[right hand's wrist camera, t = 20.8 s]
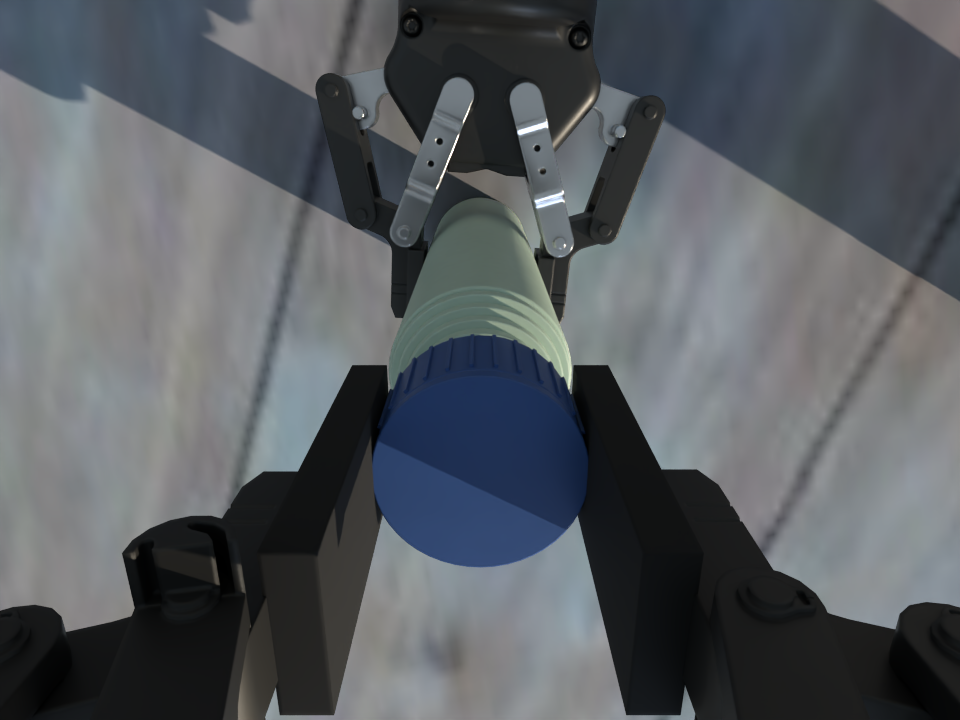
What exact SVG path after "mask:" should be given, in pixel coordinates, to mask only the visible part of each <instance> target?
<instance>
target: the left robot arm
mask: <svg viewBox="0 0 960 720" xmlns="http://www.w3.org/2000/svg"><path fill="white" fill-rule="evenodd" d="M596 6H597V0H399V7H398V31H397V36H396V40H395V43H394V46H393V48H392V50H391V52H390V54H389V55H388V57H387V59H386V62H385V65H384V68H379V69H374V70H369V71H364V72H359V73H354V74H349V75H340V74H335V73H334V74H333V73H327V74H324V75H322V76H321V77H320V78H319V79H318V81H317V83H316V95H317V99H318V103H319V107H320V111H321V115H322V119H323V123H324V127H325V132H326V136H327V140H328V144H329V148H330V152H331V156H332V160H333V164H334V168H335V172H336V176H337V180H338V184H339V188H340V192H341V196H342V200H343V204H344V208H345V212H346V216H347V219H348V221H349V223H350V224H351V225H352V226H353V227H355V228H357V229H368V230H370V231H372V232H374V233H377V234H379V235H381V236H383V237H384V238H385V239H387V241H388V242H389V244H390V245H391V248H392V285H391V307H392V310H393V313H394V315H395V318H403V317H404V315H405V312H406V309H407V307H408V304H409V301H410V299H411V296H412V293H413V291H414V288H415V285H416V283H417V280H418V278H419V275H420V272H421V270H422V267H423V264H424V262H425V259H426V256H427V254H428V241H423V239H424V224H425V222H426V220H427V217H428V215H429V212H430V210H431V207H432V205H433V202H434V200H435V197H436V195H437V192H438V190H439V188H440V185H441V183H442V180H443V178H444V175H445V173H446V170H447V169H448V172H461V173H469V172H474V171H478V170H483V169H489V170H492V171H494V172H497V173H500V174H503V175H506V176H519V177H525V180H526V184H527V188H528V192H529V195H530V198H531V202H532V206H533V210H534V214H535V218H536V222H537V226H538V229H539V233H540V237H541V240H540V248H535V251H534V259H535V261H536V264H537V267H538V269H539V272H540V274H541V277H542V280H543V282H544V285H545V287H546V290H547V293H548V295H549V298H550V301H551V303H552V306H553V308H554V311H555V314H556V316H557V319H558V322H559V324H560V323H561V321H562V319H563V317H564V310H565V301H566V292H567V284H568V275H569V266H570V261H571V259H572V257H573V255H574V254H575V253H576V252H577V251H579V250H580V249H583V248H586V247H589V246H593V245H596V244H601V245H605V244H609V243H611V242H613V241H614V240H615V239H616V238H617V236H618V234H619V231H620V228H621V226H622V223H623V221H624V218H625V216H626V213H627V211H628V208H629V206H630V203H631V200H632V198H633V195H634V193H635V190H636V188H637V185H638V183H639V180H640V178H641V175H642V173H643V170H644V167H645V165H646V162H647V160H648V157H649V155H650V152H651V150H652V147H653V145H654V142H655V140H656V137H657V134H658V132H659V129H660V127H661V124H662V122H663V119H664V116H665V105H664V103H663V101H662V100H661V99H660V98H658V97H656V96H642V97H638V96H635V95H632V94H629V93H627V92H624V91H621V90H618V89H615V88H613V87H610V86H607V85H604V84H601V79H600V74H599V72H598V69H597V67H596V64H595V60H594V56H593V47H592V43H593V32H594V23H595V14H596ZM387 94H390V95H391V96H392V98H393V100H394V101H395V103H396V104H397V106H398V108H399V109H400V111H401V112H402V114H403V116H404V117H405V119H406V120H407V122H408V124H409V125H410V127H411V128H412V130H413V132H414V133H415V135H416V136H417V138H418V140H419V141H420V143H421V144H422V145H421V147H420V150H419V152H418V155H417V158H416V160H415V163H414V165H413V168H412V171H411V173H410V176H409V178H408V181H407V184H406V188H405V191H404V194H403V196H402V199H401V201H400V204H399V206H398V205H396V204H393V203H391V202H389V201H387V200H384V199H382V195H381V191H380V187H379V182H378V178H377V173H376V169H375V164H374V160H373V156H372V151H371V147H370V142H369V138H368V134H367V129H368V128H371V127H373V126H374V125H375V124H376V123H377V122H378V119H379V105H380V102H381V100H382V98H383V97H384V96H386V95H387ZM591 109H594V110H595V111H596V112H597V114H598V116H599V120H600V125H599V129H598V134H599V138H600V140H601V141H602V142H603V143H604V144H606V145H608V149H607V152H606V154H605V157H604V160H603V162H602V165H601V168H600V171H599V173H598V176H597V179H596V181H595V184H594V187H593V189H592V192H591V195H590V198H589V200H588V203H587V206H586V208H585V211H584V213H580V214H577V215H573V216H570V217H568V213H567V209H566V204H565V200H564V191H563V187H562V182H561V178H560V174H559V170H558V165H557V161H556V157H555V152H556V151H557V149H558V148H559V147H560V146H561V145H562V143H563V142H564V141H565V140H566V139H567V137H568V136H569V135H570V134H571V133H572V131H573V130H574V129H575V128H576V127H577V125H578V124H579V123H580V122H581V121H582V119H583V118H584V117H585V116H586V115H587V113H588V112H589V111H590V110H591Z"/></svg>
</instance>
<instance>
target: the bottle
mask: <svg viewBox="0 0 960 720" xmlns="http://www.w3.org/2000/svg"><path fill="white" fill-rule="evenodd" d="M470 334H474V335H486V336H492V335H496V337H502V338H506V339H509V340H514V339H515V340H517V341H518V343H520V344H523V345H525V346H527V347H529V348H531V349H532V350H533V348H534V349H536V350H537V353H539V354H540V355H541V356H542V357H543V358H545V359H546V360H547V361H548V362H550V361H551V362H552V363H553V366H554V368H555V369H556V371H557V372H558V373H559V375H560V376H561V377H563V376H564V378H565V380H566V383H567V386H568V389H569V388H570V382H571V371H572V367H571V357H570V353H569V349H568V345H567V342H566V340H565V337H564V335H563V332H562V329H561V327H560V324H559V322H558V319H557V316H556V314H555V311H554V308H553V306H552V303H551V301H550V298H549V295H548V293H547V290H546V287H545V285H544V282H543V280H542V277H541V274H540V272H539V269H538V267H537V264H536V261H535V259H534V256H533V253H532V251H531V248H530V246H529V243H528V240H527V238H526V235H525V233H524V230H523V227H522V225H521V223H520V221H519V219H518V218H517V216H516V215H515V214H514V213H513V211H512V210H511V209H509V208H508V207H507V206H506V205H504V204H502V203H500V202H498V201H496V200H492V199H489V198H472V199H468V200H464V201H462V202H460V203H458V204H456V205H455V206H453V207H452V208H451V209H449V210H448V212H447V213H446V214H445V215H444V216H443V218H442V219H441V221H440V223H439V225H438V227H437V230H436V233H435V235H434V238H433V241H432V243H431V246H430V249H429V251H428V254H427V256H426V259H425V262H424V264H423V267H422V270H421V272H420V275H419V278H418V280H417V283H416V285H415V288H414V291H413V293H412V296H411V299H410V301H409V304H408V307H407V309H406V312H405V315H404V317H403V320H402V322H401V325H400V328H399V330H398V333H397V336H396V338H395V341H394V344H393V346H392V350H391V354H390V361H389V381H390V386H391V389H392V390H393V388H394V386H395V384H396V381H397V377H398V374H399V373H400V372H402V373H403V371H404V370H405V369H406V368H407V367H408V366H409V365H410V363H411V361H412V359H413V358H414V357H415V358H417V357H418V356H419V355H421V354H422V353H424V352H425V351H427V350H428V349H429V347H430V346H433V347H434V346H436V345H438V344H440V343H442V342H445V341H448V340H449V338H453V339H454V338H459V337H464V336H470Z"/></svg>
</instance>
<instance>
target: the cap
mask: <svg viewBox="0 0 960 720" xmlns="http://www.w3.org/2000/svg"><path fill="white" fill-rule="evenodd" d="M377 428H379V429H380V431H379V434H378V437H377V440H376V443H375V446H374V450H373V454H372V468H373V483H374V495H375V499H376V502H377V504H378V506H379V508H380V510H381V512H382V514H383V516H384V517H385V519H386V520H387V522H388V523H389V525H390V526H391V527H392V528H393V529H394V531H395V532H396V533H397V534H398V535H399V536H400V537H401V538H402V539H404V540H405V541H406V542H407V543H408V544H410V545H411V546H413V547H414V548H415V549H417V550H419V551H420V552H422V553H424V554H426V555H428V556H430V557H433V558H435V559H438V560H440V561H443V562H447V563H451V564H454V565H460V566H467V567H494V566H500V565H506V564H510V563H514V562H517V561H521V560H523V559H526V558H528V557H530V556H533V555H535V554H537V553H538V552H540V551H542V550H544V549H545V548H547V547H548V546H549V545H551V544H552V543H554V542H555V541H556V540H557V539H558V538H559V537H560V536H561V535H563V534H564V533H565V531H566V530H567V529H568V528H569V527H570V525H571V524H572V523H573V522H574V520H575V518H576V517H577V515H578V514H579V512H580V510H581V508H582V505H583V503H584V501H585V498H586V489H587V474H588V450H587V447H586V444H585V441H584V438H583V434H585V430H584V427H583V424H582V421H581V418H580V415H579V412H578V409H577V406H576V403H575V400H574V397H573V394H571V395H570V392H569V389H568V386H567V383H566V380H565V378H564V376H563V377H561V376H560V375H559V373H558V372H557V371H556V369H555V368H554V366H553V363H552V362H551V361H550V362H548V361H547V360H546V359H545V358H543V357H542V356H541V355H540V354H539V353H537V350H536V349H534V348H533V350H532V349H531V348H529V347H527V346H525V345H523V344H520V343H518V341H517V340H515V339H514V340H509V339H506V338H502V337H496V335H492V336H486V335H474V334H470V336H464V337H459V338H454V339H453V338H449V340H448V341H445V342H442V343H440V344H438V345H436V346H434V347H433V346H430V347H429V349H428V350H427V351H425V352H424V353H422V354H421V355H419V356H418V357H417V358H415V357H414V358H413V359H412V361H411V363H410V365H409V366H408V367H407V368H406V369H405V370H404V371H403V373H402V372H400V373H399V374H398V377H397V381H396V384H395V386H394V388H393V390H392V389H390V391H389V393H388V396H387V399H386V402H385V405H384V408H383V411H382V415H381V418H380V421H379V424H378V427H377Z"/></svg>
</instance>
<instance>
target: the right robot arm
mask: <svg viewBox="0 0 960 720" xmlns="http://www.w3.org/2000/svg"><path fill="white" fill-rule="evenodd" d="M572 394H573V397H574V400H575V403H576V406H577V409H578V412H579V415H580V418H581V421H582V424H583V427H584V430H585V434H583V438H584V441H585V444H586V447H587V450H588V474H587V489H586V498H585V501H584V503H583V505H582V508H581V510H580V512H579V514H578V518H579V522H580V527H581V531H582V535H583V539H584V543H585V547H586V551H587V555H588V559H589V564H590V568H591V572H592V576H593V580H594V584H595V588H596V592H597V596H598V601H599V605H600V609H601V613H602V617H603V621H604V625H605V629H606V633H607V637H608V642H609V646H610V650H611V654H612V658H613V662H614V666H615V670H616V674H617V679H618V683H619V687H620V691H621V695H622V699H623V703H624V707H625V711H626V715H681V708H682V701H683V694H684V687H685V686H686V689H687V692H688V694H689V697H690V700H691V703H692V705H693V708H694V711H695V720H960V607H955V606H952V605H949V604H939V603H930V602H925V603H919V604H914V605H909V606H908V607H907V608H906V609H905V610H904V611H903V612H901V613H900V615H899V619H898V622H897V626H896V629H890V628H886V627H881V626H877V625H872V624H868V623H863V622H859V621H854V620H850V619H846V618H842V617H839V616H836V615H832V614H829V613H827V610H826V608H825V606H824V605H823V603H822V602H821V601H820V599H819V598H818V596H817V595H816V593H814V592H813V591H812V590H811V589H809V588H808V587H807V586H805V585H804V584H803V583H802V582H800V581H799V580H796V579H794V578H792V577H790V576H788V575H786V574H783V573H781V572H778V571H774V570H773V569H772V567H771V566H770V564H769V563H768V561H767V559H766V558H765V556H764V555H763V553H762V552H761V550H760V549H759V547H758V545H757V544H756V542H755V541H754V539H753V538H752V536H751V535H750V533H749V532H748V530H747V528H746V527H745V525H744V524H743V522H740V518H739V516H738V514H737V513H736V511H735V510H734V508H733V507H732V506H730V502H729V500H728V499H727V497H726V496H725V494H724V493H723V491H722V490H721V488H720V487H719V485H718V484H716V483H715V482H714V481H712V480H711V479H709V478H708V477H707V476H705V475H704V474H702V473H701V472H700V471H698V470H661V468H660V466H659V464H658V462H657V460H656V458H655V456H654V454H653V452H652V450H651V448H650V446H649V444H648V442H647V440H646V438H645V437H644V435H643V433H642V431H641V429H640V427H639V425H638V423H637V421H636V419H635V417H634V415H633V413H632V411H631V409H630V407H629V405H628V403H627V401H626V399H625V397H624V395H623V393H622V392H621V390H620V388H619V386H618V384H617V382H616V380H615V378H614V376H613V374H612V372H611V370H610V368H609V366H608V365H574V367H573V385H572ZM387 396H388V378H387V365H352V367H351V369H350V371H349V373H348V375H347V377H346V379H345V381H344V383H343V385H342V386H341V388H340V390H339V392H338V394H337V396H336V398H335V400H334V402H333V404H332V406H331V408H330V410H329V412H328V414H327V416H326V418H325V420H324V422H323V424H322V426H321V428H320V430H319V431H318V433H317V435H316V437H315V439H314V441H313V443H312V445H311V447H310V449H309V451H308V453H307V455H306V457H305V459H304V461H303V463H302V465H301V467H300V469H299V471H298V472H262V473H261V474H260V475H258V476H257V477H255V478H254V479H253V480H251V481H250V482H249V483H247V484H246V485H244V486H243V487H242V488H241V490H240V491H239V493H238V494H237V496H236V498H235V499H234V501H233V502H232V504H231V508H230V509H228V510H227V512H226V513H225V515H224V516H223V518H222V519H221V518H217V517H214V516H189V517H184V518H179V519H174V520H170V521H167V522H165V523H162V524H160V525H157V526H155V527H153V528H150V529H148V530H147V531H145V532H144V533H142V534H141V535H140V536H138V537H137V538H135V539H134V540H132V542H131V543H130V544H129V545H128V547H127V548H126V549H125V550H124V552H123V553H122V555H123V559H124V563H125V568H126V572H127V576H128V581H129V585H130V589H131V594H132V598H133V602H134V607H135V609H134V612H133V614H132V616H131V617H128V618H124V619H121V620H117V621H114V622H110V623H105V624H101V625H96V626H92V627H87V628H83V629H78V630H74V631H69V632H66V631H65V628H64V624H63V620H62V617H61V616H60V615H59V614H58V613H57V612H56V611H55V610H53V609H52V608H48V607H43V606H38V605H29V606H20V607H12V608H8V609H5V610H1V611H0V720H265V716H266V713H267V710H268V707H269V704H270V702H271V699H272V696H273V693H274V690H275V688H276V692H277V699H278V705H279V712H280V715H334V713H335V709H336V705H337V701H338V697H339V693H340V688H341V684H342V680H343V676H344V672H345V668H346V664H347V660H348V656H349V651H350V647H351V643H352V639H353V635H354V631H355V627H356V623H357V619H358V614H359V610H360V606H361V602H362V598H363V594H364V590H365V586H366V582H367V577H368V573H369V569H370V565H371V561H372V557H373V553H374V549H375V545H376V540H377V536H378V532H379V528H380V524H381V520H382V516H383V514H382V512H381V510H380V508H379V506H378V504H377V502H376V499H375V495H374V483H373V468H372V454H373V450H374V446H375V443H376V440H377V437H378V434H379V431H380V429H379V428H377V427H378V424H379V421H380V418H381V415H382V411H383V408H384V405H385V402H386V399H387Z"/></svg>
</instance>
